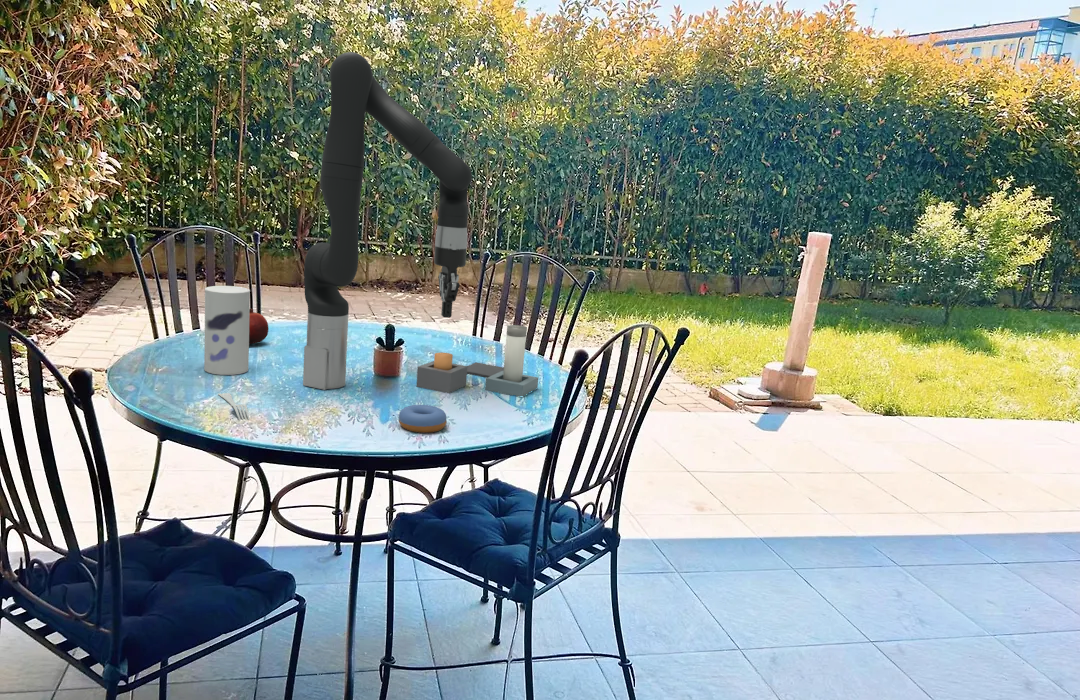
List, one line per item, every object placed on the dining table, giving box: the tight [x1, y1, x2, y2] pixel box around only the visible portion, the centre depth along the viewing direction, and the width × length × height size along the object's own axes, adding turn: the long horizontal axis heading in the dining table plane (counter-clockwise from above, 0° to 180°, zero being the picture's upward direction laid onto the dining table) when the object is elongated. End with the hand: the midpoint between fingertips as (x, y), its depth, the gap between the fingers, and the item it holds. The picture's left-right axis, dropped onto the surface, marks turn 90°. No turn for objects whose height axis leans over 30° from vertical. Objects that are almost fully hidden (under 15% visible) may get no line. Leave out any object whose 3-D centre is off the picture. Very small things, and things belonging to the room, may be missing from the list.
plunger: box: [433, 352, 454, 371], centre depth 205 cm, size 4×4×6 cm
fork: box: [217, 392, 251, 422], centre depth 176 cm, size 3×21×3 cm, turn 32°
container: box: [203, 285, 251, 376], centre depth 200 cm, size 10×10×20 cm
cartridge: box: [503, 324, 528, 383], centre depth 208 cm, size 5×5×16 cm
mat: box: [466, 362, 504, 378], centre depth 225 cm, size 11×11×1 cm
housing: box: [484, 371, 539, 397], centre depth 209 cm, size 10×10×3 cm
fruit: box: [249, 308, 269, 345], centre depth 229 cm, size 11×10×10 cm
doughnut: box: [398, 404, 447, 434], centre depth 174 cm, size 10×10×5 cm
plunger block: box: [415, 360, 468, 394], centre depth 206 cm, size 9×9×5 cm
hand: (446, 316), depth 203 cm, fingers closed
